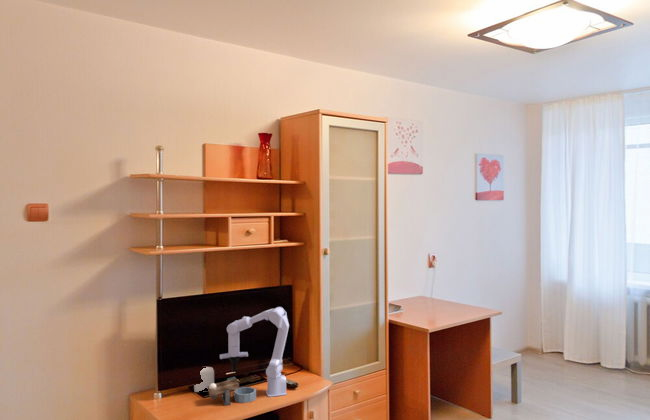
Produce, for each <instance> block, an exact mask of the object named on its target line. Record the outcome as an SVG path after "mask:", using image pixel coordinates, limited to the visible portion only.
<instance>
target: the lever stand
mask: <svg viewBox="0 0 650 420" xmlns="http://www.w3.org/2000/svg"><path fill="white" fill-rule="evenodd" d="M230 392H231V391H230V389H225V393H222V395H221V399H222V402H223V405H224V406H231V405H232V402H231V399H230V398H231V393H230Z"/></svg>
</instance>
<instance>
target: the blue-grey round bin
mask: <svg viewBox="0 0 650 420" xmlns="http://www.w3.org/2000/svg"><path fill="white" fill-rule="evenodd" d="M233 399H234V401H235V403H239V404H241V403H242V404H246V403H251V402H254V401H255V400H257V389H256V387H252V386H241V387H239V388H238V389H235V390H233Z"/></svg>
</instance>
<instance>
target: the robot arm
mask: <svg viewBox="0 0 650 420" xmlns="http://www.w3.org/2000/svg"><path fill="white" fill-rule="evenodd" d="M263 320H266V321H270V322H271V323H272V324H273V325H275V326H276V328H277V334H276V337H275V338H276V339H275V342H274V348H273V352H272V356H271V359H270V361H269V364H268V366H267V368H266V369H265V375H266V376H267V381H266V382H267V390H265V393H266V395H267V397H269V398H270V397H277V396H279V397H280V396H286V395H287V377H286V376H285V375H283V374H282V372H283V368H284V366H283V356H284V355H283V354H284V351H285V347H286V343H287V337H288V332H289V328H290V323H289V319H288V315H287V311H286V310H285V309H284V308H283V307H282V306H277V307H275V308H270V309H267V310H264V311H262V312H260V313H258V314H256V315H253V316H252V317H251V316H245V315H244V316H243V317H242V318H241V319H238V320H237V319H236V320H234V321H233V322H231V323H229V324H228V325H227V327H226V332H227V334H228V335H227V336H228V338H227V339H228V344H227V345H228V352H227V353H221V354H219V359H220V360H224V359H228V360H229V362H230V364H231V371H232V372H234V373H235V372H236V371H237V366H238V363H239V361H240V358H243V357H246V358H247V357H249V353H248V351H241V350H240V332H242V331H244V330H247V329H249V328H251V327H252V326H253V324H255V323H257V322H258V323H259V322H260V321H263Z"/></svg>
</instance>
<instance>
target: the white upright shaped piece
mask: <svg viewBox="0 0 650 420" xmlns="http://www.w3.org/2000/svg"><path fill="white" fill-rule="evenodd" d="M205 367H206V368H203V369H202V370H201V371H200V375H201V379H202V380H203V382H201V383H200V384H196V385H194V384H193V390H194V393H200V392H199V391H202V390H204V389H205V388H207V389H208V387H207V386H210V384H212V383H215V369H214V368H213V367H212V366H205Z"/></svg>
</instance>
